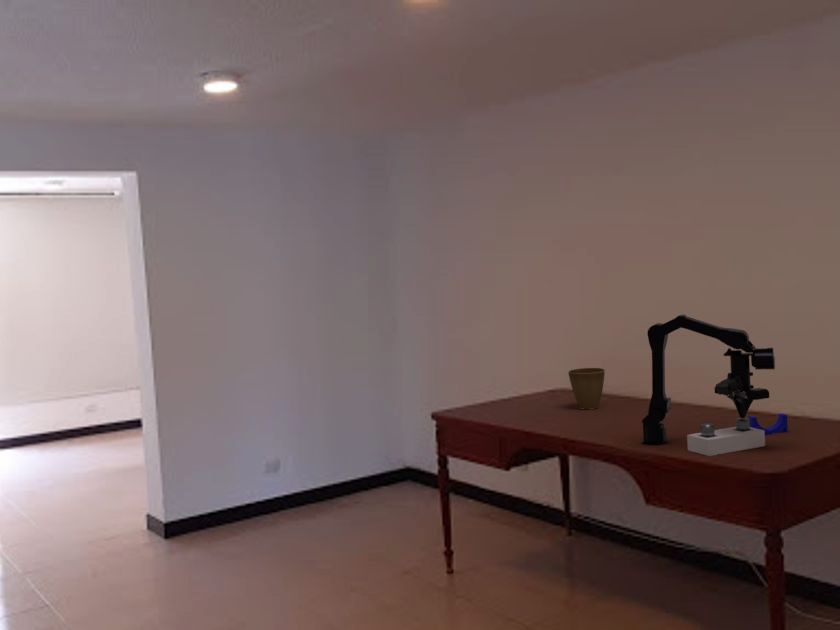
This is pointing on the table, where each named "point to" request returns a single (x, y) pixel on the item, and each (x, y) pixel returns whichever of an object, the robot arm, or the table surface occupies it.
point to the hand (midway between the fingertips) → (742, 418)
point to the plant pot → (587, 386)
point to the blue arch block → (776, 428)
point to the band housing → (726, 441)
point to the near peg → (707, 430)
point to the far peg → (742, 424)
